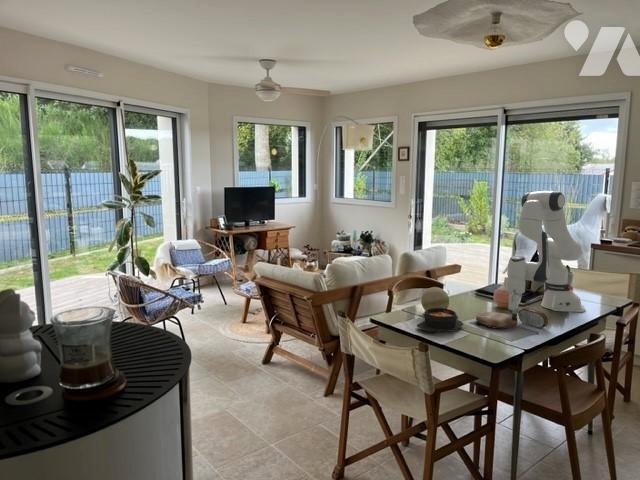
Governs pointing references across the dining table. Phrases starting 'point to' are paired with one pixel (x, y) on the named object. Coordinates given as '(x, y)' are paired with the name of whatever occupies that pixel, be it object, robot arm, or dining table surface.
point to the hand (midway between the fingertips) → (514, 314)
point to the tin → (533, 318)
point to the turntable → (497, 319)
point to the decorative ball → (434, 298)
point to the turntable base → (498, 327)
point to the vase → (502, 296)
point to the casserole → (440, 320)
